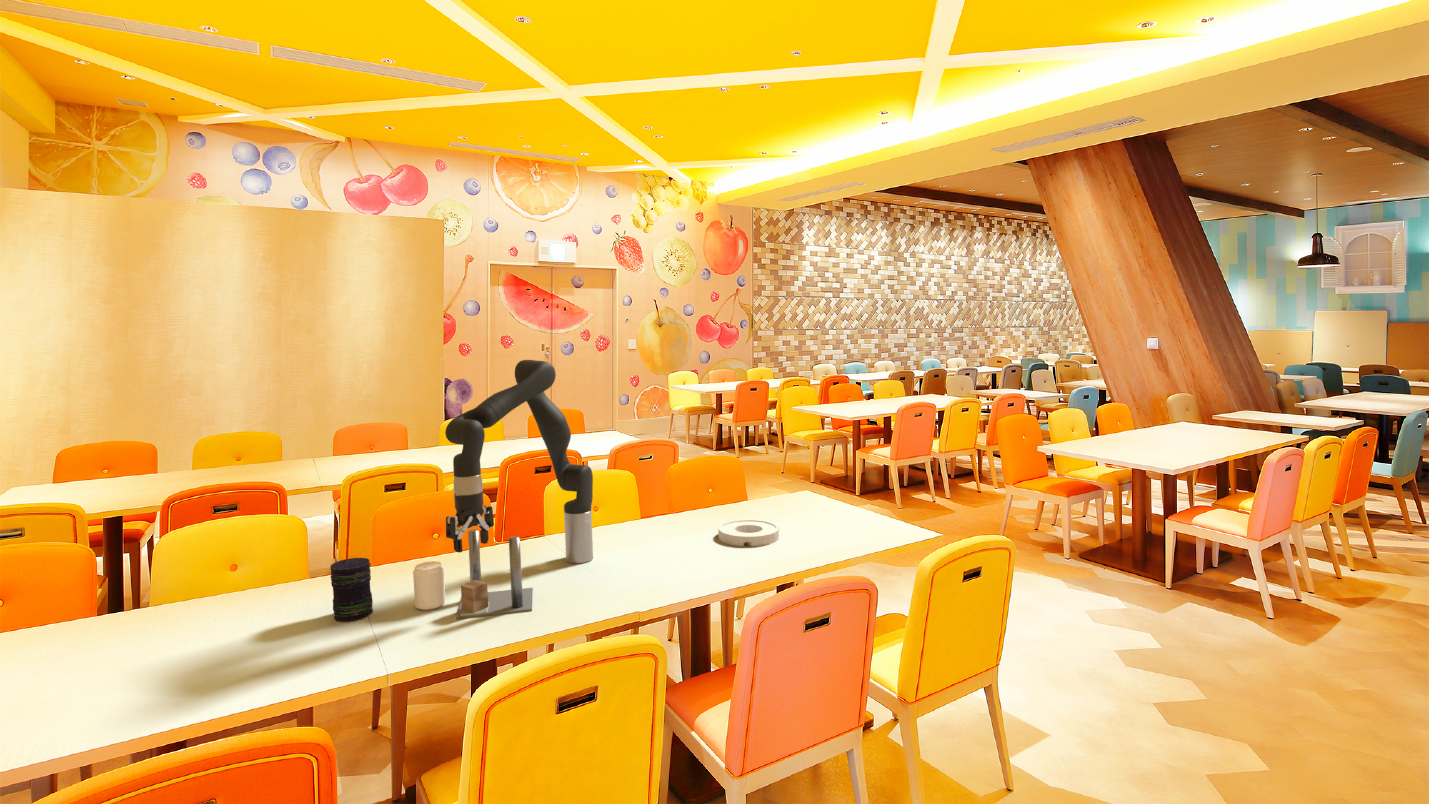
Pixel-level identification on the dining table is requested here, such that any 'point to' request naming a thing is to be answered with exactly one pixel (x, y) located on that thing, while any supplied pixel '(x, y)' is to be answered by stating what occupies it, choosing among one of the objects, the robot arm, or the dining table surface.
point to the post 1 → (474, 555)
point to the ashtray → (748, 532)
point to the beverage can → (429, 585)
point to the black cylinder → (351, 589)
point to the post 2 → (515, 572)
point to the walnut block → (474, 596)
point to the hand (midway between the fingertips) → (471, 547)
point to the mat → (501, 604)
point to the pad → (476, 612)
